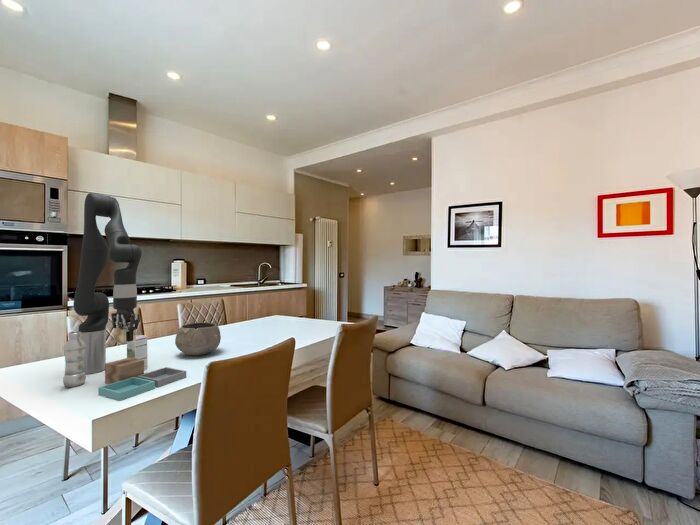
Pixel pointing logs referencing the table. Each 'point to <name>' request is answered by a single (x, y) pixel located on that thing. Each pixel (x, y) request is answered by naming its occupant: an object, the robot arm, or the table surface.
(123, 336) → the letter cube
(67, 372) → the plastic bottle
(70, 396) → the table surface
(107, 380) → the walnut stand
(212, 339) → the clay pot
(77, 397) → the table surface
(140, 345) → the syrup box
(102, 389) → the teal bin
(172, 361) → the table surface
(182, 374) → the gray bin
